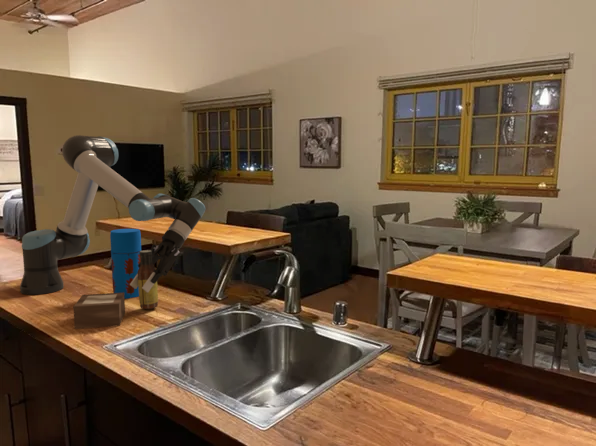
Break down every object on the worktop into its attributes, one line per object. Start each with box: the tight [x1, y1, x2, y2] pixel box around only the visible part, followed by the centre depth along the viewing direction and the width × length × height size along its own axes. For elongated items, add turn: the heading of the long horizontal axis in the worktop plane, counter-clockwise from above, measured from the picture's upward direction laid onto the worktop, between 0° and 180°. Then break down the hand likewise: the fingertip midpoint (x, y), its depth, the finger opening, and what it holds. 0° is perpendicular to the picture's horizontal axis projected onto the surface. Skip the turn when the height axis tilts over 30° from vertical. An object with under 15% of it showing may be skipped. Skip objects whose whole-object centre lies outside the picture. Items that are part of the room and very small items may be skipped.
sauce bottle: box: [138, 249, 159, 310], centre depth 157 cm, size 6×6×20 cm
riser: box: [72, 292, 126, 330], centre depth 146 cm, size 13×13×7 cm
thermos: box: [109, 228, 142, 300], centre depth 174 cm, size 11×11×25 cm
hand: (138, 288), depth 154 cm, fingers closed on sauce bottle, 6 cm apart
